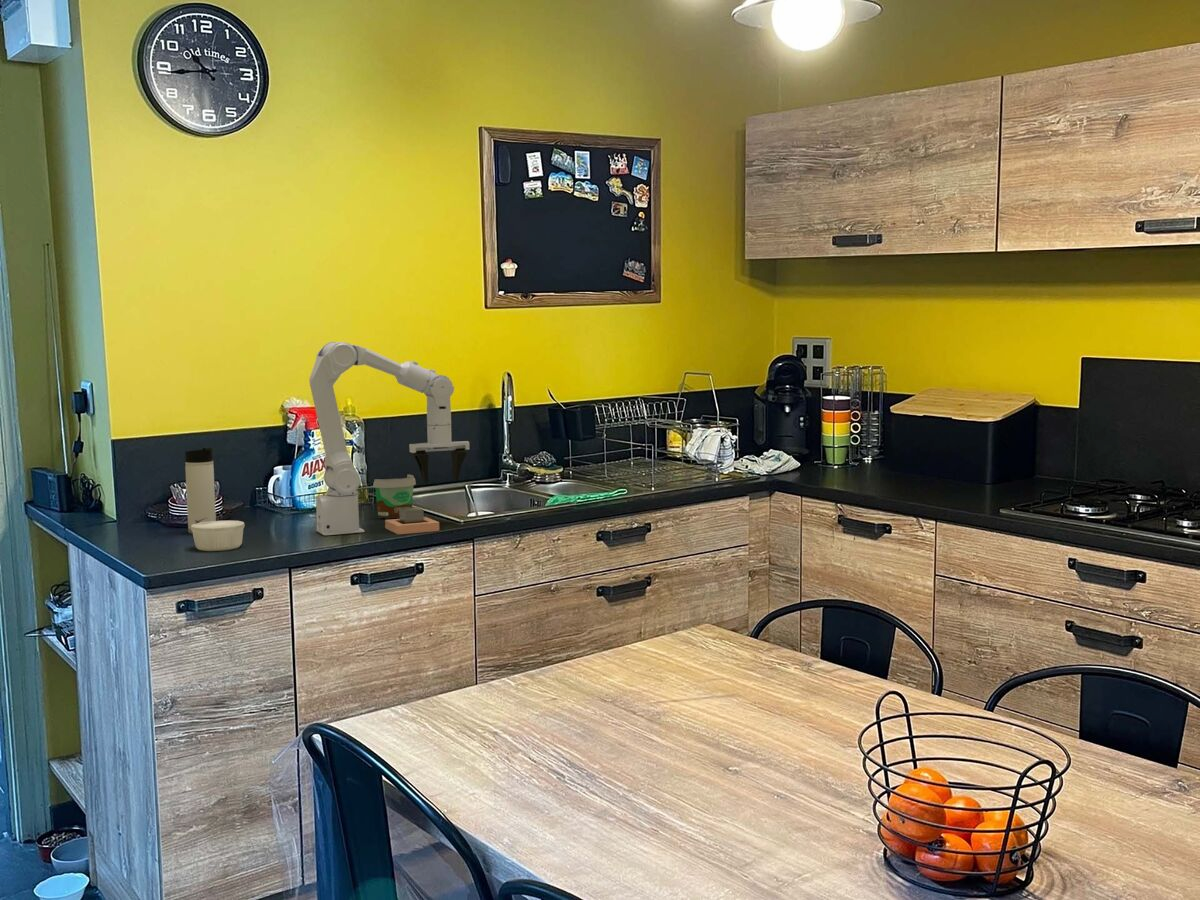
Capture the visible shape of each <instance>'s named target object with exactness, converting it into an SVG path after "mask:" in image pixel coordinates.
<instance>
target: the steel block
mask: <svg viewBox="0 0 1200 900" xmlns="http://www.w3.org/2000/svg"><path fill="white" fill-rule="evenodd" d="M424 514H425V513H424V508H421V507H419V506H412V507H410V508H399V518H398V519H400V523H401V524H411V523H423V522H424V517H425V516H424Z"/></svg>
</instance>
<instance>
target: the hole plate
mask: <svg viewBox="0 0 1200 900" xmlns="http://www.w3.org/2000/svg"><path fill="white" fill-rule="evenodd" d="M384 524H385V525H384V526H385V527H384V528H385V530H387V531H389V532H392V533H394V534H396V535H407V534H418V533H419V534H420V533H431V532H440V522H439V521H437V520H435V519H432V518H430V517H428V516H424V522H423V523H411V524H401V523H400V519H399V518H397V519H385V520H384Z"/></svg>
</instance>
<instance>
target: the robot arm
mask: <svg viewBox="0 0 1200 900" xmlns="http://www.w3.org/2000/svg"><path fill="white" fill-rule="evenodd" d="M353 366H357V367H358V366H368V367H370V368H373V369H375V370H378V371H381V372H383V373H386V374H389V375H392V376H394V378H395V379H396V381H397V383H398V384H399V385H400V386H404V387H406V388H408V389H411V390H414V391H416V392H418V393H421V394H424V396H426V428H427V429H426V432H427V433H426V434H427V435H426V436H427V442H420V443H419V442H418V443H410V444H409V446H408V447H409V453H412V455H413V458H414V460H415V462H416V464H417V467H418V469H419V472H420V475H421V480H422V482H423V483H429V458H430V457H429V456H430V455H429V454H428V453H427V452H443V451H450V455H451V464H452V468H451V469H452V471H451V472H452V475H451V476H452V480H453V481H459V477H460V472H461V469H462V466H463V463H464V461H465V459H466V456H467V454H468V453H467V452H468V451H467V450H470V441H468V440H464V441H452V407H451V406H452V405H451V397H452V395H453V394H454V392H455V386H454V385H453V382H452V380H451V378H449V377H448V376H446V375H443V374H437V373H436V370H434V368H433V369H428V368H425V367H423V366H420V365H419V362H417V361H415V360H412V361H408V360H406V361H405V362H402V363H399V362H397V361H394V360H393V359H391V358H388V357H387V356H384V355H382V354H380V353H378V352H375V351H373V350H371V349H368V348H367V347H363V346H360V345H356V344H351V343H349V342H346V341H338V342H337V341H330V342H327V343H325V345H323V346H322V347H321V348H320V350H319V351H318V352H317V353H316V356H315V361H314V365H313V368H312V371H311V373H310V376H309V379H308V380H309V387H310V391H311V395H312V401H313V404H314V410H315V414H316V417H317V418H316V419H317V422H318V423H317V424H318V427H319V433H320V437H321V441H322V444H323V449H324V454H325V456H324V457H325V458H324V466H325V469H324V470H325V471H324V474H323V480H324V484H325V485H326V486H327V487H328V488H327V490H326V494H324V495H319V496H317V498H316V501H315V502H316V503H315V507H316V530H315V531H316V532H318V533H320V534H321V535H323V536H334V535H347V534H348V535H349V534H357V533H364V532H365V530H364V529H363V528H361V527H360V518H359V517H360V514H359V512H360V511H359V491H358V488H359V486H360V484H361V477H360V474H359V472H358V471H357V469H355V467H354V464H353V459H351V456H350V455H349V451H348V449H347V444H346V440H345V435H344V431H343V425H342V419H341V417H340V411H339V407H338V403H337V398H336V394H335V389H334V385H335V383H336V382H337V381H338V379H339V378H340V377H341V376H342V374H344V373H345V372H347V371H348V370H349V369H351V368H352V367H353Z"/></svg>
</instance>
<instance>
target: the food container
mask: <svg viewBox="0 0 1200 900" xmlns="http://www.w3.org/2000/svg"><path fill="white" fill-rule="evenodd" d="M372 484H373V485H372V486H373V488H374V489H375V496H376V497H375V499H376V507H377V516H380V517H399V508H410V507H413V497H414V486H415V485H417V483H416V478H415V477H414V475H412V474H407V476H406V477H404V478H389V479H380V478H379V479H378V478H374V481H373V483H372Z"/></svg>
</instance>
